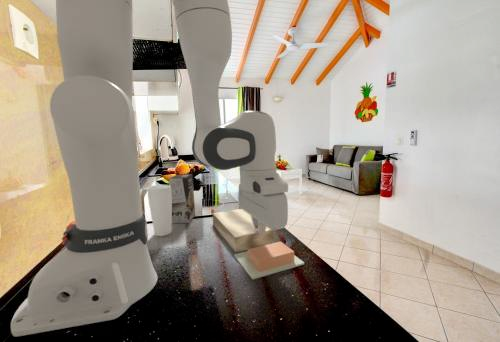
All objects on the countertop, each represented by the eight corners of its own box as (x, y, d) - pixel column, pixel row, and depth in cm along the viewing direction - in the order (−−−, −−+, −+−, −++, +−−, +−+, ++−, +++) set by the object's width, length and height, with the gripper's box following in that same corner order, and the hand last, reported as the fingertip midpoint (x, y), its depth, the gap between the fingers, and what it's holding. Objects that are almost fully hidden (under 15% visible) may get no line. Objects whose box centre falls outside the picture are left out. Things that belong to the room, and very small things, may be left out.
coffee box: (189, 223, 83) (186, 177, 80) (171, 223, 83) (167, 178, 80) (195, 214, 92) (193, 173, 89) (179, 215, 92) (176, 174, 89)
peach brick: (247, 249, 56) (247, 259, 56) (258, 261, 50) (259, 271, 51) (280, 241, 59) (280, 250, 60) (294, 251, 54) (294, 261, 54)
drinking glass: (148, 233, 74) (144, 186, 72) (169, 227, 79) (166, 183, 77) (156, 240, 69) (151, 190, 67) (178, 233, 74) (174, 186, 71)
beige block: (235, 252, 60) (235, 237, 60) (213, 224, 80) (212, 213, 80) (273, 243, 65) (273, 229, 64) (243, 219, 85) (242, 208, 84)
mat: (252, 279, 49) (252, 277, 49) (234, 255, 59) (234, 254, 59) (304, 264, 54) (304, 262, 54) (279, 244, 64) (279, 243, 64)
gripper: (231, 175, 65) (233, 223, 67) (266, 189, 47) (267, 254, 49) (252, 173, 68) (253, 219, 70) (292, 185, 49) (293, 248, 51)
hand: (259, 234), depth 59 cm, fingers closed
